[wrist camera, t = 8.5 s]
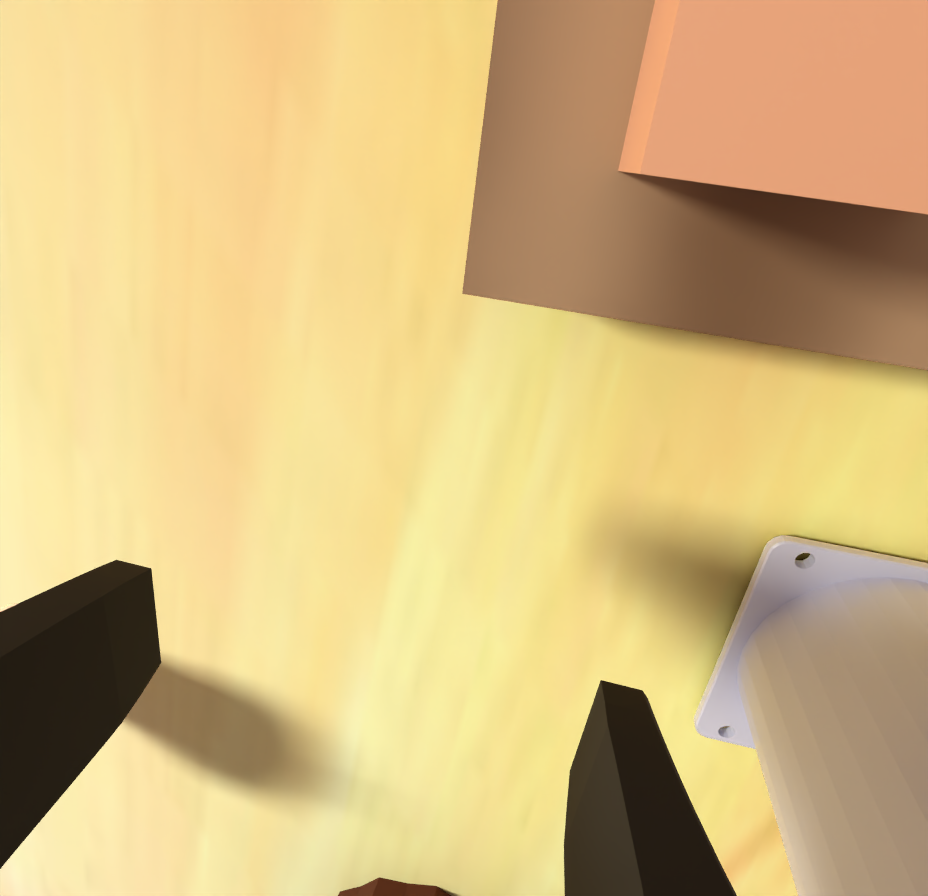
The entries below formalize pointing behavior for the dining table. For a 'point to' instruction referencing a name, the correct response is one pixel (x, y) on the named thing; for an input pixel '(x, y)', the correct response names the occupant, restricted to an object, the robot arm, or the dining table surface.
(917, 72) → the terracotta cube
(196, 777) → the dining table surface
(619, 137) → the walnut block
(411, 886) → the muffin
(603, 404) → the dining table surface
